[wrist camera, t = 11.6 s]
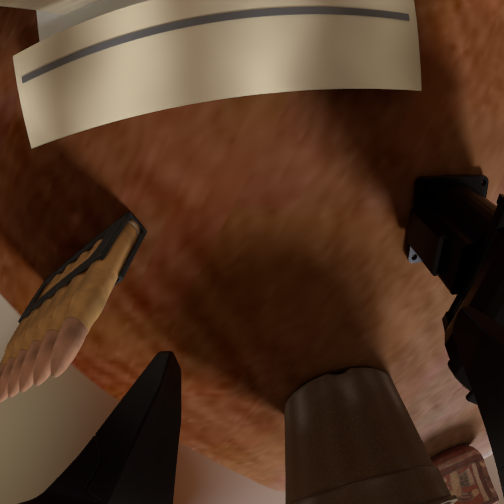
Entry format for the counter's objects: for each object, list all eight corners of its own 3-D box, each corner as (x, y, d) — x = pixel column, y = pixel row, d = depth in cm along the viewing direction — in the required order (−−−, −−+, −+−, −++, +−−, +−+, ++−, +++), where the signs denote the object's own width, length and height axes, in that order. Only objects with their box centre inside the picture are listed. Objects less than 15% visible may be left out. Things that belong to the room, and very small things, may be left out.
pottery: (491, 430, 48) (514, 491, 33) (448, 464, 57) (464, 519, 42) (438, 445, 46) (461, 520, 31) (395, 478, 55) (409, 541, 40)
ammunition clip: (130, 210, 19) (45, 356, 9) (148, 231, 20) (83, 386, 10) (44, 280, 22) (-25, 397, 12) (59, 296, 23) (-2, 415, 13)
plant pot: (437, 362, 30) (489, 486, 16) (355, 434, 37) (377, 538, 24) (315, 336, 26) (355, 527, 12) (243, 423, 34) (247, 553, 20)
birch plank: (396, -5, 13) (413, -11, 11) (405, 87, 16) (422, 91, 14) (31, 54, 13) (11, 56, 12) (48, 139, 16) (30, 148, 15)
